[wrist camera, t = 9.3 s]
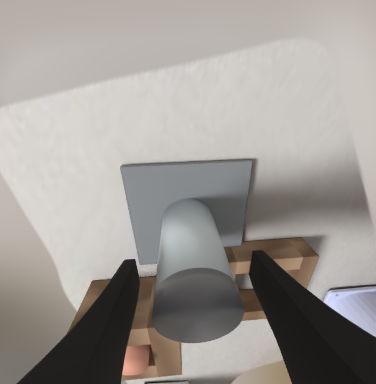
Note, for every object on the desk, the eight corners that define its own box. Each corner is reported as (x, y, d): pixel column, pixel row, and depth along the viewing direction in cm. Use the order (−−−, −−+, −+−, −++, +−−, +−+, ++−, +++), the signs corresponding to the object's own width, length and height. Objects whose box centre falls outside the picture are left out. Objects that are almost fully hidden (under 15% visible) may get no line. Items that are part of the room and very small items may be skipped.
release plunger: (152, 299, 20) (145, 356, 15) (155, 316, 21) (150, 373, 17) (123, 302, 20) (107, 360, 15) (128, 319, 21) (115, 377, 17)
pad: (249, 159, 14) (252, 161, 14) (237, 253, 18) (239, 257, 18) (122, 165, 14) (120, 167, 13) (141, 260, 18) (139, 264, 17)
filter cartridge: (211, 195, 15) (247, 281, 8) (213, 237, 17) (242, 337, 9) (158, 201, 15) (143, 293, 7) (166, 242, 17) (159, 347, 9)
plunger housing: (176, 274, 19) (177, 325, 15) (180, 322, 23) (181, 374, 19) (92, 280, 19) (66, 335, 14) (110, 328, 23) (94, 383, 18)
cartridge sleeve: (301, 237, 18) (319, 256, 16) (283, 294, 22) (295, 315, 20) (214, 243, 18) (220, 263, 15) (211, 300, 22) (216, 323, 19)
